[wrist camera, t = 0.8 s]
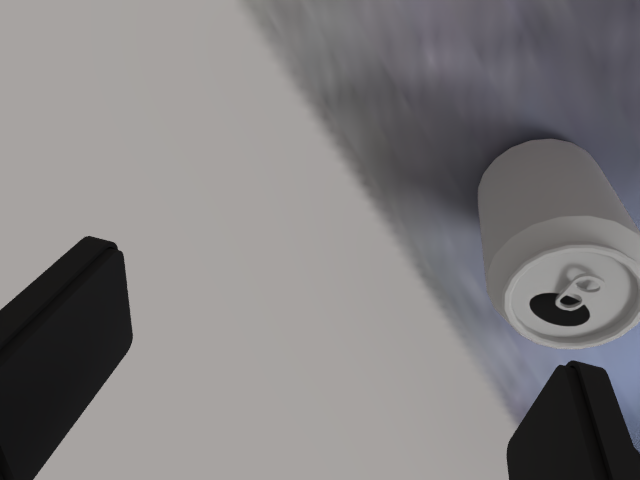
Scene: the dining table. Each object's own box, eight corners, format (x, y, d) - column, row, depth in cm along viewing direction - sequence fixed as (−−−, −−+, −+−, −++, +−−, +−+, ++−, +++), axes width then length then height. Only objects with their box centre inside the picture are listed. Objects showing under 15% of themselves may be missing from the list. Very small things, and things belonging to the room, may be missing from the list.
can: (457, 212, 34) (460, 329, 24) (511, 116, 30) (542, 210, 20) (557, 250, 34) (601, 382, 24) (626, 158, 30) (713, 274, 20)
